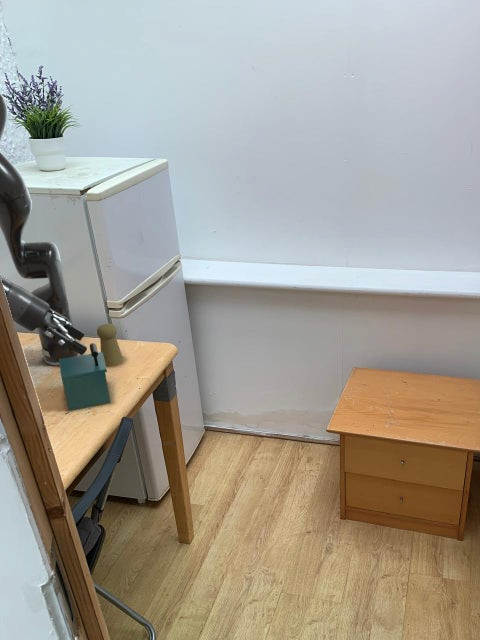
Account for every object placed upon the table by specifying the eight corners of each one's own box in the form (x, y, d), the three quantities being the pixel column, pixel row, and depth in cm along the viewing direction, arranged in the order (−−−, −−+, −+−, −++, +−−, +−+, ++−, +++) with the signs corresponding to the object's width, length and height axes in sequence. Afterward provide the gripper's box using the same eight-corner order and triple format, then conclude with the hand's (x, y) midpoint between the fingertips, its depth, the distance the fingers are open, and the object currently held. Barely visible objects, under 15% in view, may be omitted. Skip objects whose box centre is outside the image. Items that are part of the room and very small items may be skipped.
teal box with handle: (102, 354, 156) (99, 337, 154) (107, 372, 148) (103, 354, 146) (59, 361, 153) (55, 344, 151) (61, 379, 145) (57, 361, 143)
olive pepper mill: (117, 367, 169) (110, 331, 163) (97, 365, 170) (90, 329, 164) (126, 357, 174) (121, 322, 168) (107, 355, 175) (100, 320, 169)
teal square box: (106, 384, 161) (100, 355, 156) (110, 403, 153) (105, 372, 148) (66, 391, 158) (59, 361, 153) (69, 410, 150) (61, 380, 145)
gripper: (31, 305, 132) (95, 344, 142) (31, 283, 144) (90, 321, 153) (11, 331, 133) (76, 368, 143) (12, 308, 145) (72, 344, 154)
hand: (83, 344), depth 148 cm, fingers open, 8 cm apart
